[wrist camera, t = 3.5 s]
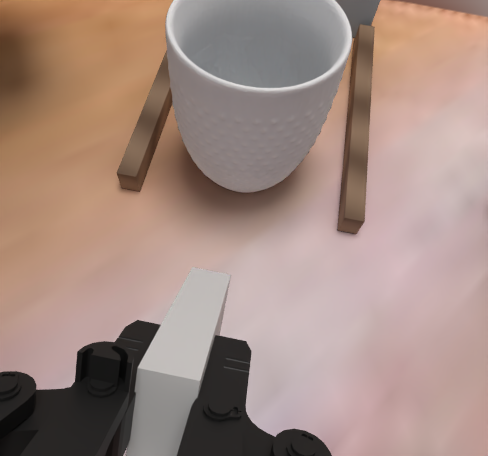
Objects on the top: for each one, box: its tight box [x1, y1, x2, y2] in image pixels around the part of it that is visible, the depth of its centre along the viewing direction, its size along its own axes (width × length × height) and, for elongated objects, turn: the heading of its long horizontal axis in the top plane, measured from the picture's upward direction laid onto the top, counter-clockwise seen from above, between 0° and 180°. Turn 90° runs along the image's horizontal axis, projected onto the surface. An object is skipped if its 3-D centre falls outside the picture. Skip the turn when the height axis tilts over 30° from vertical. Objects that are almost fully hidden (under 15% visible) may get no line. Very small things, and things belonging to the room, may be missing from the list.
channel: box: [117, 24, 375, 234], centre depth 38 cm, size 23×19×2 cm
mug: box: [165, 0, 352, 192], centre depth 31 cm, size 15×11×13 cm
